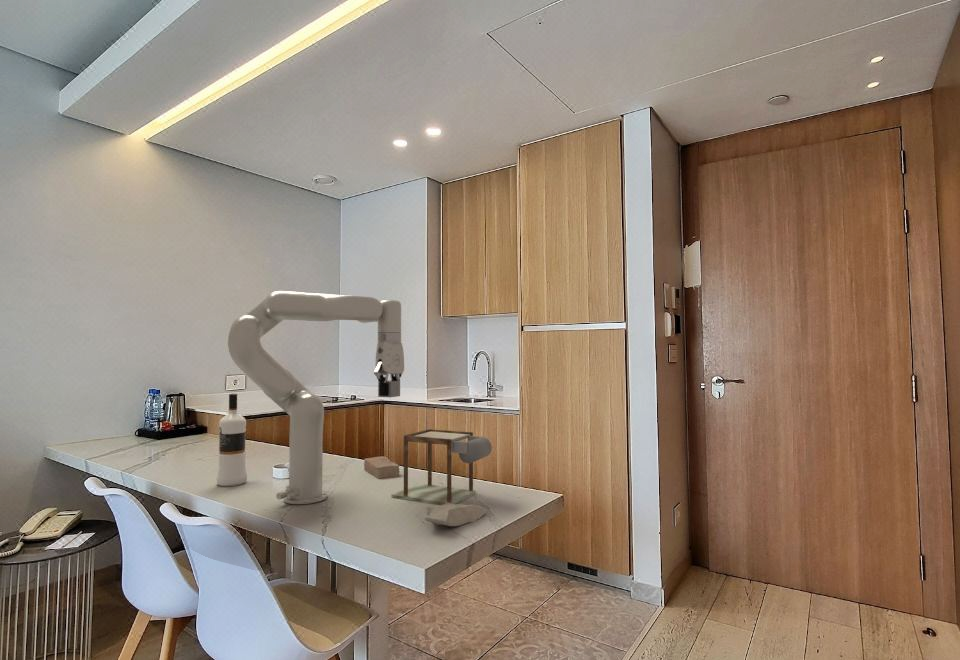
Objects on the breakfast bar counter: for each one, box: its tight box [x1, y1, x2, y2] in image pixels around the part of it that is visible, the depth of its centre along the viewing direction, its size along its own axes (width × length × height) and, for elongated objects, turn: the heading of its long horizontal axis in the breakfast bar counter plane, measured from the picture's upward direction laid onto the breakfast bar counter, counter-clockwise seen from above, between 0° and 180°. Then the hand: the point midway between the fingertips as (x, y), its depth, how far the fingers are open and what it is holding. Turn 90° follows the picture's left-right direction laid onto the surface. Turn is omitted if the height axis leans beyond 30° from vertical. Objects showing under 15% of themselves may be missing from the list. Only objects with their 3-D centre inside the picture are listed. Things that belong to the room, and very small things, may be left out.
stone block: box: [377, 379, 401, 398], centre depth 171 cm, size 5×5×5 cm
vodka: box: [216, 393, 248, 487], centre depth 178 cm, size 9×9×30 cm
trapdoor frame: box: [390, 428, 476, 505], centre depth 162 cm, size 21×15×19 cm
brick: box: [363, 455, 400, 479], centre depth 192 cm, size 17×8×5 cm, turn 30°
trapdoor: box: [416, 431, 493, 464], centre depth 160 cm, size 22×12×6 cm, turn 64°
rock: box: [424, 503, 487, 527], centre depth 138 cm, size 21×5×15 cm
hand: (389, 394), depth 171 cm, fingers closed on stone block, 5 cm apart
